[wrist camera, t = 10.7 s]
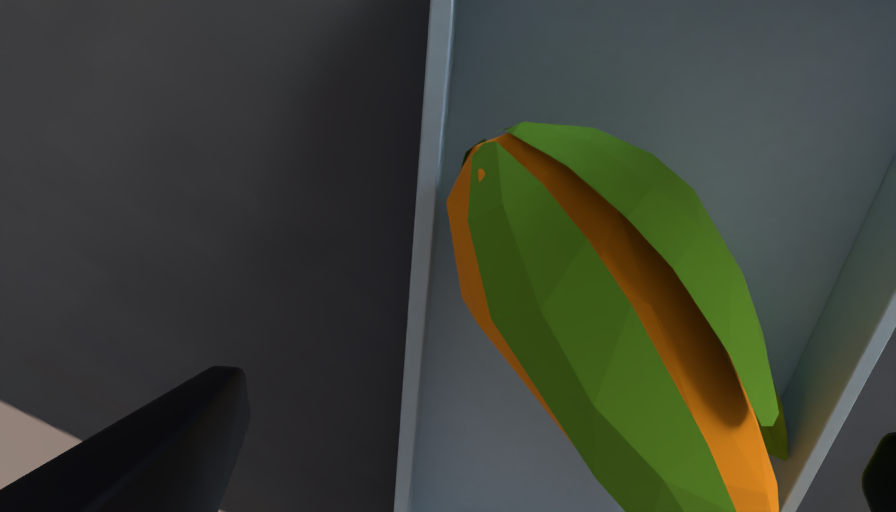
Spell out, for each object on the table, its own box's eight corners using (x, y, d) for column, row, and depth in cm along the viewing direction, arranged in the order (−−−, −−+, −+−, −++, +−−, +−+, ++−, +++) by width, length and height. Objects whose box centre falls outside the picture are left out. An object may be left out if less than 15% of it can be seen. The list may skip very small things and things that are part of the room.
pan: (984, -21, 16) (1084, -21, 13) (705, 573, 28) (728, 637, 25) (445, -76, 16) (436, -87, 13) (397, 534, 28) (387, 593, 25)
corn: (672, 86, 10) (949, 678, 17) (615, 31, 16) (830, 470, 23) (346, 266, 12) (700, 713, 19) (410, 156, 19) (656, 517, 26)
